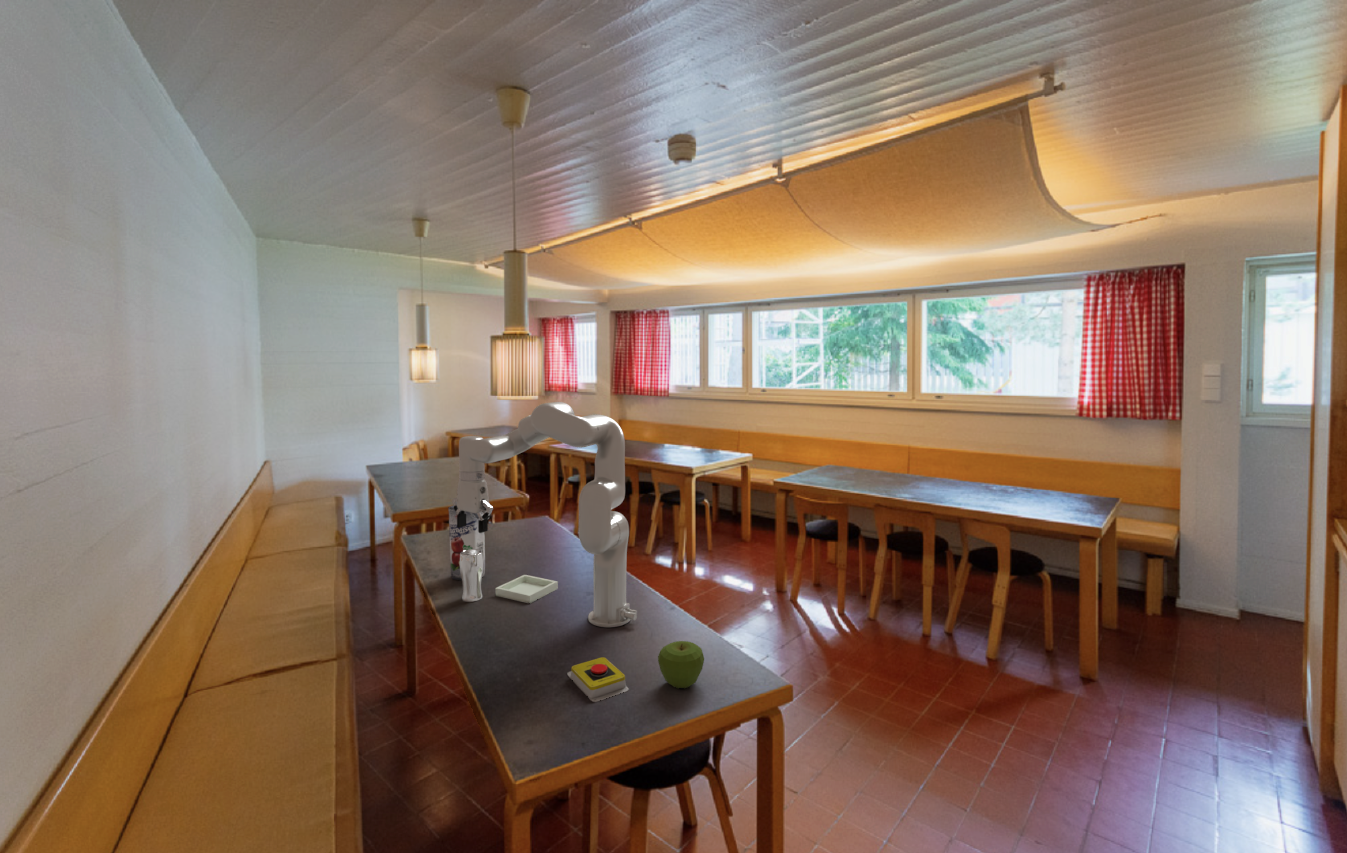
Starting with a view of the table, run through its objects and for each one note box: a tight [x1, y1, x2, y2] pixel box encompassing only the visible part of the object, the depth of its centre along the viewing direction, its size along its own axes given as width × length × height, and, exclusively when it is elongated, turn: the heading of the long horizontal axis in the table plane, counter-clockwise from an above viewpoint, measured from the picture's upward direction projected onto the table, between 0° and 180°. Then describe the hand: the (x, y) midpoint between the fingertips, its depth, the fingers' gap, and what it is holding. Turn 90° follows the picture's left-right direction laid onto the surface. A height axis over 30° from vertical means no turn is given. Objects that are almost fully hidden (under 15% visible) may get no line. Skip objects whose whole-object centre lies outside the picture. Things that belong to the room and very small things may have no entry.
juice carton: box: [448, 505, 486, 581], centre depth 203 cm, size 9×10×27 cm
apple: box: [657, 640, 705, 689], centre depth 136 cm, size 11×10×10 cm
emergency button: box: [567, 656, 630, 703], centre depth 137 cm, size 9×4×15 cm
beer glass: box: [460, 549, 483, 603], centre depth 185 cm, size 7×7×15 cm
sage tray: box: [495, 574, 559, 604], centre depth 191 cm, size 14×14×2 cm
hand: (472, 529), depth 185 cm, fingers open, 9 cm apart
